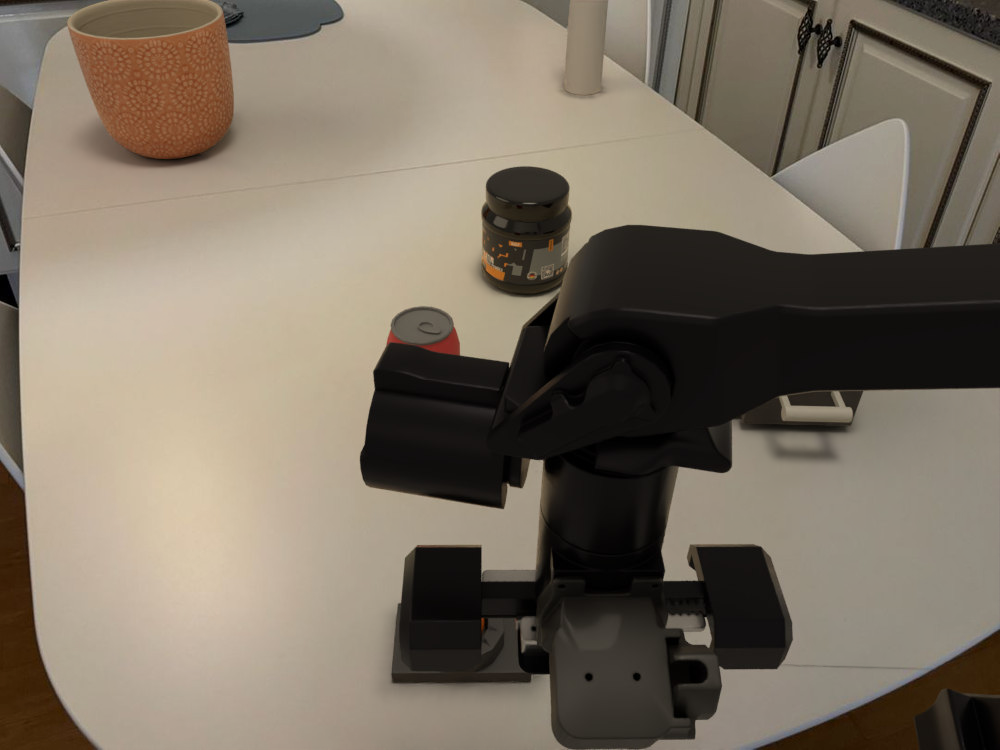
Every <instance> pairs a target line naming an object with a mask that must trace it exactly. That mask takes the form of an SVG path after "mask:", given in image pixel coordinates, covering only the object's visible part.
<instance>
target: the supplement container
mask: <svg viewBox="0 0 1000 750" xmlns="http://www.w3.org/2000/svg"><path fill="white" fill-rule="evenodd" d="M570 187H571V186H570V184H569V182H568V180H567V179H566V178H565V177H564V176H563V175H561V174H560V173H558V172H556V171H553V170H551V169H549V168H544V167H539V166H531V165H527V166H526V165H523V166H513V167H512V166H511V167H507V168H504V169H501V170H498V171H496V172H495V173H493V174H491V175H490V176H489V177H488V179H487V180H486V181H485V201H484V203H483V204H482V206H481V210H480V218H481V223H482V224H481V229H482V230H481V263H480V264H481V271H482V274H483V276H484V277H485V279H486V280H487V281H488V282H489V283H490V284H492V285H493V286H495V287H496V288H498V289H500V290H502V291H506V292H509V293H514V294H523V295H530V294H537V293H539V294H540V293H543V292H547V291H549V290H551V289H553V288H555V287H556V286H559V285H560V284H561V283H562V282H563V279H564V276H565V273H566V271H567V268H568V266H569V263H568V260H569V245H570V234H571V233H570V231H571V223H572V220H573V211H572V208H571V206H570V204H569V202H570V189H571V188H570Z"/></svg>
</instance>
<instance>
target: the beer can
mask: <svg viewBox="0 0 1000 750" xmlns="http://www.w3.org/2000/svg"><path fill="white" fill-rule="evenodd" d="M390 342H395V343H402V344H409V345H415V346H419V347H422V348H425V349H428V350H431V351H434V352H439V353H446V354H453V355H460V356H461V342H460V339H459V335H458V332H457V329H456V327H455V323H454V320H453V317H452V316H451V315H450V314H449V312H447V311H445V310H443V309H441V308H438V307H434V306H426V305H422V306H421V305H420V306H414V307H409V308H406V309H403V310H401V311H400V312H398V313H397V314H396V315H395V316H394V317H393V318H392V320H391V322H390V330H389V333H388V336H387V338H386V345H387V344H389V343H390ZM386 345H385V346H386Z"/></svg>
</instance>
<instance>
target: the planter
mask: <svg viewBox="0 0 1000 750" xmlns="http://www.w3.org/2000/svg"><path fill="white" fill-rule="evenodd" d="M225 19H226V18H225V13H224V10H223V8H222V7H221V6H220V5H219V4H218V3H217V2H214V1H212V0H105V1H100V2H97V3H93V4H91V5H87V6H85V7H83V8H80V9H79V10H77V11H75V12H74V13H72V14H71V15H70V16H69V17H68V19H67V22H66V26H67V31H68V33H69V37H70V40H71V44H72V46H73V50H74V53H75V56H76V58H77V61H78V64H79V68H80V71H81V73H82V76H83V79H84V82H85V84H86V87H87V90H88V92H89V95H90V98H91V100H92V103H93V105H94V107H95V110H96V112H97V114H98V116H99V119H100V121H101V122H102V125H103V126H104V128H105V130H106V131H107V133H108V134H109V135H110V137H111V138H112V139H113V140H114V141H115V142H116V143H117V144H118V145H120V146H121V147H123V148H125V149H126V150H127V151H130V152H132V153H134V154H136V155H139V156H142V157H145V158H148V159H149V158H150V159H155V160H156V159H157V160H173V159H181V158H188V157H191V156H195V155H196V156H197V155H198V154H201V153H204V152H206V151H208V150H210V149H211V148H213V147H214V146H216V145H217V144H218V143H219V142H220V141H221V140H222V139H223V138H224V136H226V134H227V132H229V130H230V128H231V125H232V122H233V119H234V114H235V113H234V112H235V96H234V95H235V92H234V80H233V79H234V78H233V71H232V62H231V53H230V46H229V38H228V32H227V24H226V20H225Z"/></svg>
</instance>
